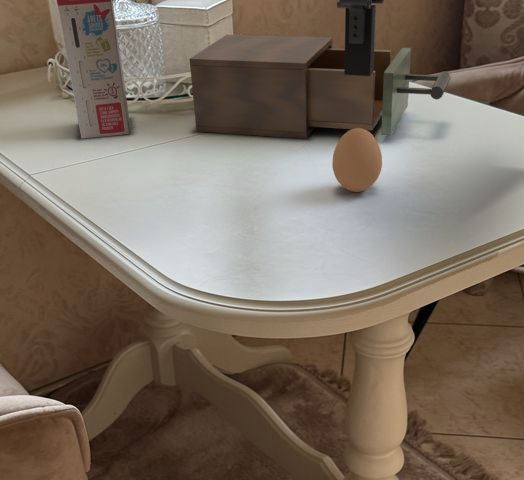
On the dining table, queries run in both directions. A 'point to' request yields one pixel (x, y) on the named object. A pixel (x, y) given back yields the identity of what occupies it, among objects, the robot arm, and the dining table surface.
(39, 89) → the dining table surface
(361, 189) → the egg
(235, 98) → the cabinet
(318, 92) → the drawer
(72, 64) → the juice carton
